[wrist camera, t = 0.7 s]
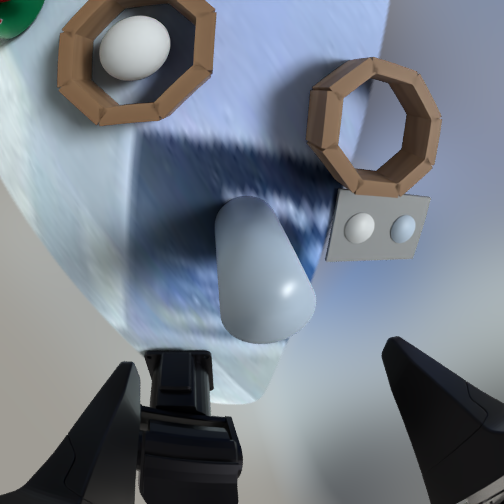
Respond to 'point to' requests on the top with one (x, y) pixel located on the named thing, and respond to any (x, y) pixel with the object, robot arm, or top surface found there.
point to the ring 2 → (415, 134)
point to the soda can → (17, 16)
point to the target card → (375, 227)
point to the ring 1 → (81, 50)
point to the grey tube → (259, 274)
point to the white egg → (134, 48)
